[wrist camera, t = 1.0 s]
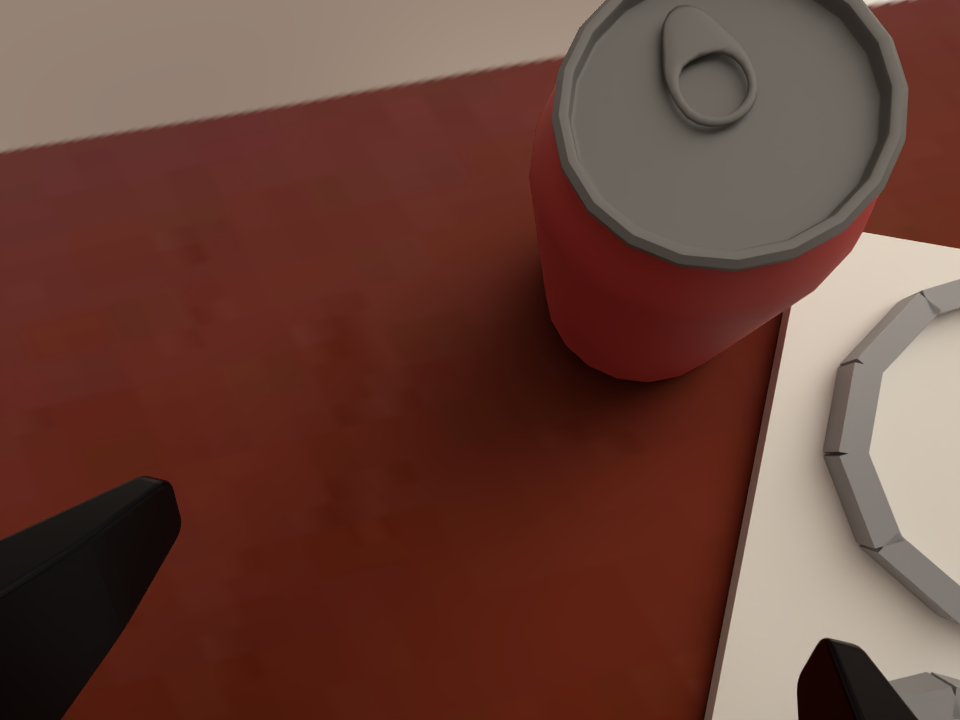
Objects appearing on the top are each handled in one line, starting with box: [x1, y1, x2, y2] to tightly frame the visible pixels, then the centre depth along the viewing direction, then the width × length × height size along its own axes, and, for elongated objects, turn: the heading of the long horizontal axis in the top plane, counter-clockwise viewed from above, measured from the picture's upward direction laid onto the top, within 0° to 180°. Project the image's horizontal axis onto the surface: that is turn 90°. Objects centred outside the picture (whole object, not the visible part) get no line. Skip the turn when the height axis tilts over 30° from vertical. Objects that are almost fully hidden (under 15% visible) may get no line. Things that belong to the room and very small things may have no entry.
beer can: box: [529, 0, 908, 382], centre depth 16 cm, size 7×7×12 cm
